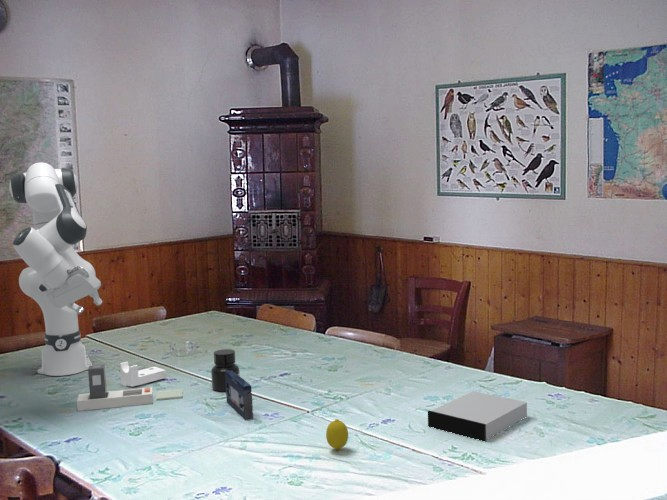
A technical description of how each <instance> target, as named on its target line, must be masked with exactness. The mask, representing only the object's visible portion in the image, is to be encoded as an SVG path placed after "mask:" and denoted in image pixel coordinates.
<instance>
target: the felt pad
mask: <svg viewBox="0 0 667 500" xmlns="http://www.w3.org/2000/svg"><path fill="white" fill-rule="evenodd" d="M155 396H156V397H155V401H168V400H176V399H177V400H179V399H183V388H174V389H165V390H156V391H155Z"/></svg>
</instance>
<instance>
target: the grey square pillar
mask: <svg viewBox="0 0 667 500" xmlns="http://www.w3.org/2000/svg"><path fill="white" fill-rule="evenodd" d="M87 373H88V386H89V389H88V390H89V393H90V399H99V398H107V392H108V391H107V377H106V365H105V363H104V364H95V365H94V364H92V365H91V366H89V368H88V370H87Z"/></svg>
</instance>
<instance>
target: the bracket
mask: <svg viewBox="0 0 667 500" xmlns="http://www.w3.org/2000/svg"><path fill="white" fill-rule="evenodd" d="M119 373H120V375H119V376H120V384H121V386H123V387H126V386H127V387H131V388H132V387H136V386H137V387H138V386H141V385H145V384H148V383H151V382H155V381H159V380H163V379H166V378H167V370H166V369H163V368H162V367H158V366H152V367H146V368H144V369H140V370H139V365H137V364H134V365H131V366H130V365H129V361H124V362H120V363H119Z"/></svg>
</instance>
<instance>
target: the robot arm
mask: <svg viewBox="0 0 667 500" xmlns="http://www.w3.org/2000/svg"><path fill="white" fill-rule="evenodd" d="M78 187H79V180H78V178H77V175H76V174H75V173H74V171H73V170H72V169H71V168H67V167H66V168H65V167H61V168H54V167H53V165H51V164H50V163H47V162H44V161H42V162H35V163H33V164H31V165H30V166H29V167H28V169H27V171H26V172H22V171H21V172H18V173H15V174H13V175H12V176H11V177H10V181H9V187H8V190H9V193H10V195H11V197H12V198H13V200H14V201H15V202H16V203H18V204H27V205H28V206H29V207H30V208H31V209H32V219H33V220H32V221H33V226H28V227H26V228H23V230H21V231H20V232H19V233H18V234H17V235H16V236H15V237H14V239H13V241H12V247H13V249H15V251H16V253H17V254H18V255H19V256H20V258H21V259H22V260H23V261H24V263H25V264H26V265H27V266H28V267H26V268H24V269H22V270H21V272H20V274H19V277H18V284H19V289H20V290H21V291H22V292H23V293H24V295H26V296H27V297H30V298H31V299H33V300H34V301H35V302H36V303H37V305H39V308H40V309H41V312H42V315H43V319H44V320H43V321H44V328H45V329H44V330H45V333H44V344H45V345H44V347H43V348H42V349H41V367H39V369H37V371H36V372H37V374H42V375H47V376H52V377H54V376H55V377H58V376H62V377H63V376H69V375H75V374H79V373H82V372H85V371H88V368H89V366H91V365H93V363H92V361H91V360H90V357H89V356H88V354H86V346H85V345H84V344H83V343H82V341H81V339H82V338H81V337H82V335H81V330H80V329H79V319H78V315H80V314H81V313H83V312H84V311H85V308H83V306H82V305H78V304H76V303H75V302H77V301H79V300H81V299H83V298H85V297H87V296H89V297H90V298H93V302H92V303H93V304H95V306H98V307H99V306H101V305H102V303H103V300H102V299H101V298H100V295H99V292H98V290H99V289H100V288H101V286H102V284H101V283H102V282H101V280H100V279H99V278H97V276H96V274H97V273H96V270H95V267H94V266H93V265H92V263H90V262H89V261H87V260H85V259H84V258H83V257H82V256H80V255H79V254H78V253H77V252H76V250H75V249H74V245H76V244H77V243H79V242H82V241H83V240H85V239H86V236H87V231H88V228H87V224H86V221H85V220H84V219H83V217H82V216H81V214H80V211H79V209H78V207H77V204H76V202H75V200H74V197H75V196H76V194H77V191H78Z"/></svg>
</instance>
